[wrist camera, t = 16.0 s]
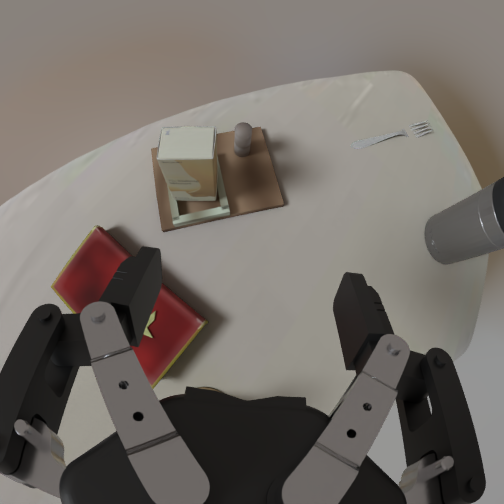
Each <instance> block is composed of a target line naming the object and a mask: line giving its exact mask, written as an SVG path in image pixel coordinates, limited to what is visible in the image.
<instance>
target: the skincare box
mask: <svg viewBox="0 0 504 504" xmlns="http://www.w3.org/2000/svg"><path fill="white" fill-rule="evenodd" d="M157 161H158V163H159V166H160V168H161V171H162V173H163V176H164V178H165V181H166V183H167V185H168V188H169V190H170V192H171V195H172V197H173V199H174V200H181V201H215V200H216V195H217V180H218V169H217V128H216V127H208V126H184V127H162V129H161V133H160V138H159V144H158V150H157Z"/></svg>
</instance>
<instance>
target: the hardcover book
mask: <svg viewBox="0 0 504 504" xmlns="http://www.w3.org/2000/svg"><path fill="white" fill-rule="evenodd" d="M130 256H132V255H131V254H130V253H128V252H127V251H126V250H125V249H124V248H123V247H122V246H121V245H120V244H119V243H118V242H117V241H116V240H115V239H114V238H113V237H112V236H111V235H110V234H109V233H107V232H106V231H105V230H104V229H103V228H102V227H100V226H94V228H93V229H92V230H91V232H90V233H89V234H88V235H87V237H86V238H85V239H84V241H83V242H82V243H81V245H80V246H79V247H78V249H77V250H76V251H75V253H74V254H73V255H72V257H71V258H70V260H69V261H68V262H67V264H66V265H65V267H64V268H63V269H62V271H61V272H60V274H59V275H58V277H57V278H56V280H55V281H54V283H53V284H52V286H51V288H52V289H53V290H54V291H55V293H56V294H57V295H58V296H59V297H60V299H61V300H62V301H63V302H64V303H65V304H66V306H67V307H68V308H69V309H70V310H71V311H72V312H73V314H76V313H81V312H82V310H83V309H84V308H85V307H86V306H87V305H89V304H91V303H93V302H98V301H99V299H100V297H101V296H102V294H103V292H104V291H105V289H106V287H107V285H108V284H109V282H110V280H111V279H112V278H113V275H114V274H115V272H116V270H117V269H118V267H119V266H120V264H121V263H122V262H123V261H124V260H126V259H127V258H128V257H130ZM132 257H133V256H132ZM207 323H208V321H207V320H206V319H205V318H203V317H202V316H201V315H200V314H198V313H197V312H196V311H195V310H194V309H192V308H191V307H190V306H189V305H187V304H186V303H185V302H184V301H183V300H182V299H180V298H179V297H178V296H177V295H176V294H174V293H173V292H172V291H171V290H170V289H169V288H167V287H166V286H165V285H164V284H163V283H162V285H161V290H160V292H159V295H158V297H157V300H156V302H155V305H154V308H153V310H152V313H151V315H150V318H149V321H148V323H147V326H146V328H145V331H144V334H143V337H142V339H141V342H140V345H139V347H134V346H130V347H132V348H133V350H134V352H135V354H136V357H137V359H138V361H139V363H140V365H141V367H142V369H143V371H144V373H145V375H146V377H147V379H148V381H149V383H150V385H151V387H152V389H153V388H154V387H155V386H156V385H157V383H158V382H159V381H160V380H161V379H162V377H163V376H164V375H165V374H166V372H167V371H168V370H169V369H170V368H171V366H172V365H173V364H174V363H175V361H176V360H177V359H178V358H179V356H180V355H181V354H182V353H183V352H184V350H185V349H186V348H187V347H188V345H189V344H190V343H191V342H192V340H193V339H194V338H195V337H196V335H197V334H198V333H199V332H200V331H201V329H202V328H203V327H204V326H205V325H206V324H207Z"/></svg>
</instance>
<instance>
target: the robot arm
mask: <svg viewBox="0 0 504 504" xmlns="http://www.w3.org/2000/svg"><path fill="white" fill-rule="evenodd" d="M425 240H426V245H427V247H428V250H429V252H430V254H431V255H432V256H433V258H434V259H435V260H437V261H438V262H440V263H442V264H451V263H454V262H458V261H462V260H466V259H469V258H473V257H476V256H480V255H483V254H486V253H490V252H493V251H497V250H500V249H503V248H504V177H503V178H501V179H499V180H498V181H496V182H494V183H493V184H491V185H489V186H487V187H485V188H484V189H482V190H480V191H478V192H477V193H475V194H473V195H471V196H469V197H468V198H466V199H464V200H462V201H460V202H458V203H457V204H455V205H453V206H451V207H449V208H447V209H445V210H443V211H441V212H440V213H438V214H436V215H434V216H432V217H431V218H430V219H429V220H428V222H427V224H426V228H425ZM161 285H162V268H161V252H160V249H159V248H152V247H144V246H143V247H142V248H141V249H140V251H139V252H138V254H137V256H136V257H132V256H130V257H128V258H127V259H126V260H124V261H123V262H122V263H121V264H120V266H119V267H118V269H117V270H116V272H115V274H114V275H113V278H112V279H111V280H110V282H109V284H108V285H107V287H106V289H105V291H104V292H103V294H102V296H101V297H100V299H99V301H98V302H93V303H91V304H89V305H87V306H86V307H85V308H84V309H83V310H82V312H81V313H76V314H62V313H61V311H60V309H59V307H58V306H56V305H54V304H44V305H41V306H39V307H38V308H36V309H35V310H34V311H33V313H32V314H31V316H30V318H29V319H28V321H27V323H26V325H25V326H24V328H23V330H22V332H21V333H20V335H19V337H18V339H17V341H16V343H15V344H14V346H13V348H12V350H11V352H10V354H9V356H8V358H7V360H6V362H5V364H4V366H3V368H2V370H1V373H0V473H1V474H2V475H4V476H6V477H8V478H10V479H12V480H14V481H16V482H18V483H22V484H24V485H26V486H28V487H31V488H38V489H40V490H42V491H44V492H47V493H49V494H51V495H53V496H56V497H58V498H61V502H62V504H471V503H473V502H476V501H477V500H478V499H480V497H481V496H482V495H483V493H484V490H485V486H486V480H485V474H484V469H483V463H482V458H481V454H480V450H479V445H478V441H477V437H476V433H475V429H474V425H473V422H472V418H471V415H470V411H469V408H468V405H467V401H466V398H465V395H464V392H463V389H462V386H461V383H460V380H459V377H458V375H457V372H456V369H455V366H454V364H453V361H452V359H451V357H450V356H449V354H448V353H447V352H445V351H444V350H442V349H440V348H431V349H430V350H429V351H428V352H427V353H426V355H424V354H420V353H417V352H413V351H410V349H409V346H408V344H407V343H406V342H405V341H404V340H403V339H402V338H401V337H399V336H397V335H394V332H393V329H392V327H391V324H390V322H389V319H388V316H387V314H386V312H385V309H384V306H383V305H382V301H381V299H380V297H379V294H378V293H377V292H376V291H375V290H374V289H373V288H372V286H367V283H366V281H365V278H364V276H363V274H358V273H349V272H346V273H345V274H344V276H343V278H342V281H341V283H340V286H339V288H338V291H337V293H336V296H335V299H334V303H333V312H334V316H335V320H336V325H337V329H338V334H339V338H340V343H341V348H342V352H343V357H344V362H345V367H346V370H356V376H355V377H354V379H353V380H352V382H351V384H350V385H349V387H348V388H347V390H346V391H345V393H344V394H343V396H342V397H341V399H340V400H339V402H338V403H337V405H336V406H335V408H334V409H333V411H332V412H331V413H330V415H329V416H328V415H326V414H325V413H323V412H321V411H319V410H317V409H315V408H312V407H310V406H306V397H281V396H276V397H270V398H264V399H257V400H250V401H246V400H242V399H239V398H236V397H233V396H230V395H227V394H224V393H221V392H218V391H215V390H207V389H200V388H194V387H187V386H186V391H185V394H180V395H174V396H170V397H167V398H164V399H162V400H158V398H157V397H156V395H155V393H154V391H153V389H152V387H151V385H150V383H149V381H148V379H147V377H146V375H145V373H144V371H143V369H142V367H141V365H140V363H139V361H138V359H137V357H136V354H135V352H134V350H133V348H132V347H130V346H134V347H139V345H140V342H141V339H142V337H143V334H144V331H145V328H146V326H147V323H148V321H149V318H150V315H151V313H152V310H153V308H154V305H155V302H156V300H157V297H158V295H159V292H160V290H161ZM80 366H92V368H93V371H94V374H95V377H96V380H97V383H98V385H99V388H100V391H101V394H102V396H103V399H104V401H105V404H106V407H107V409H108V411H109V414H110V416H111V419H112V421H113V423H114V426H115V428H116V430H117V431H116V432H114V433H113V434H112V435H110V436H109V437H107V438H106V439H104V440H103V441H102V442H100V443H99V444H97V445H96V446H94V447H93V448H91V449H90V450H89V451H87V452H86V453H84V454H83V455H81V456H80V457H78V458H77V459H75V460H74V461H72V462H71V463H70V464H69V465H68V466H67V467H66V465H65V462H64V446H63V443H62V441H61V439H60V438H59V436H57V433H58V430H59V426H60V423H61V420H62V416H63V413H64V410H65V407H66V404H67V401H68V398H69V395H70V392H71V389H72V386H73V383H74V380H75V377H76V375H77V372H78V369H79V367H80ZM428 395H429V398H430V402H431V406H432V415H431V412H430V408H429V404H428V400H427V396H428ZM395 399H396V403H397V408H398V413H399V419H400V424H401V430H402V436H403V442H404V449H405V456H406V464H407V468H406V469H405V470H404V472H403V474H402V477H401V481H400V482H399V486H398V485H397V484H396V483H395V482H394V481H393V480H392V479H391V478H390V477H389V476H388V475H387V474H386V473H385V472H383V471H382V469H380V467H378V466H377V465H376V464H375V463H374V462H373V461H372V460H371V459H370V458H369V457H368V456H367V453H368V451H369V449H370V448H371V446H372V444H373V442H374V440H375V439H376V437H377V435H378V433H379V431H380V429H381V427H382V425H383V423H384V421H385V419H386V417H387V415H388V413H389V411H390V409H391V407H392V405H393V403H394V400H395Z"/></svg>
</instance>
